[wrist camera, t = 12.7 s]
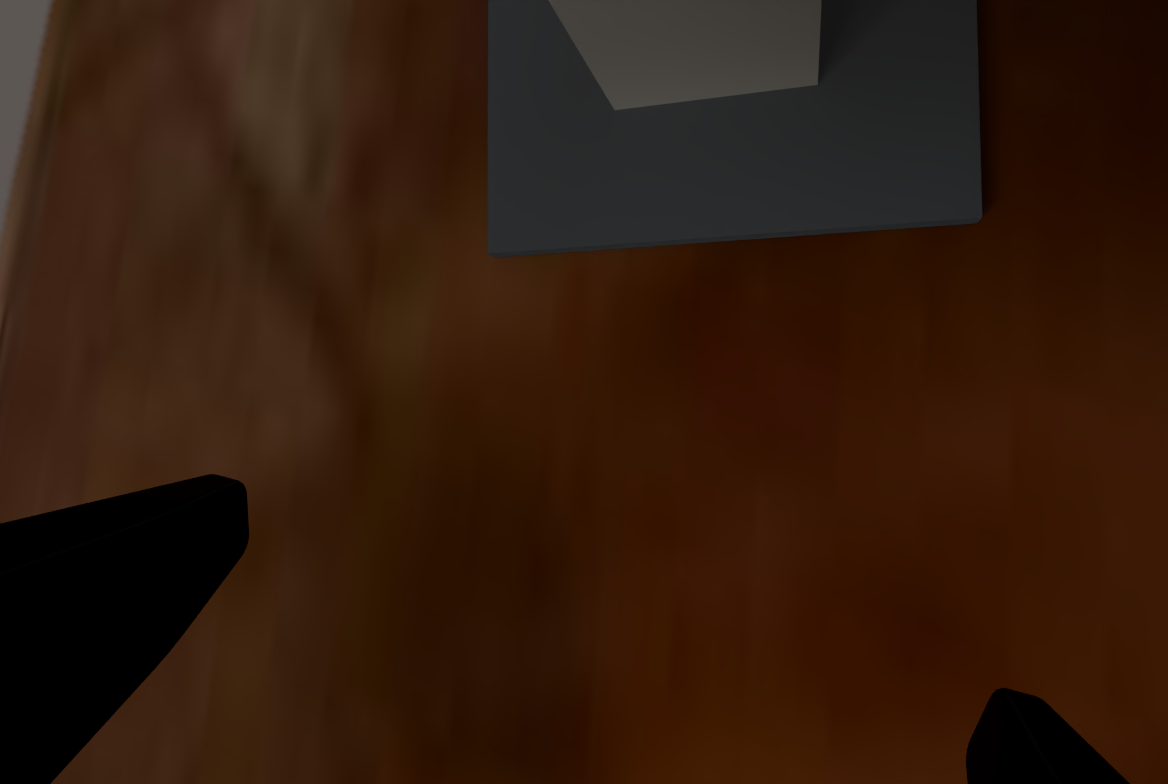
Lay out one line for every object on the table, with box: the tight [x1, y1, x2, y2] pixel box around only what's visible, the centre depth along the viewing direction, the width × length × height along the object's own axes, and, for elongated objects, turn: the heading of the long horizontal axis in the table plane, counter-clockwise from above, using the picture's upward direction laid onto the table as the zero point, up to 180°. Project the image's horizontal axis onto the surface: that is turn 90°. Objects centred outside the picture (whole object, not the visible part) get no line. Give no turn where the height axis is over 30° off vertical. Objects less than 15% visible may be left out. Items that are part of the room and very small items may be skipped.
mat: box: [488, 0, 982, 257], centre depth 19 cm, size 12×12×1 cm
